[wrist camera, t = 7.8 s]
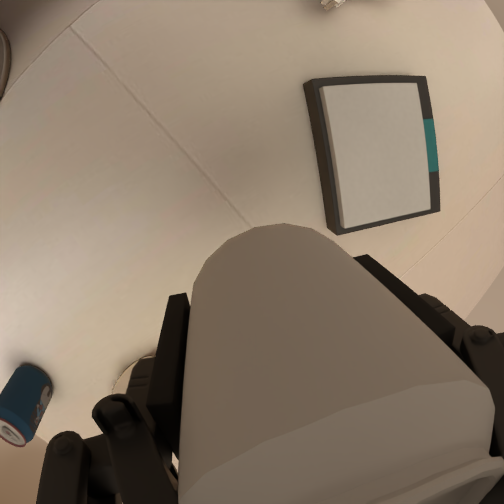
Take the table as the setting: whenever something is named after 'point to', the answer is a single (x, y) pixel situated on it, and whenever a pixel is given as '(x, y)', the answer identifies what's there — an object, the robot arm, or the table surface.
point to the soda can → (23, 404)
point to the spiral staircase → (332, 3)
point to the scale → (374, 149)
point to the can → (322, 386)
